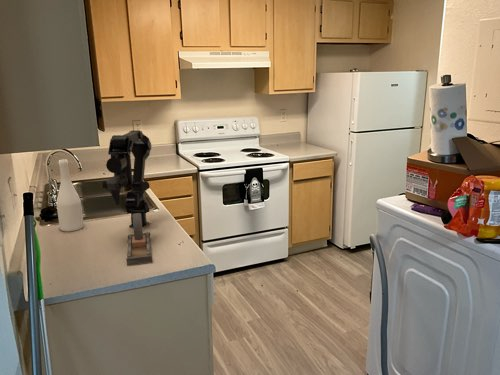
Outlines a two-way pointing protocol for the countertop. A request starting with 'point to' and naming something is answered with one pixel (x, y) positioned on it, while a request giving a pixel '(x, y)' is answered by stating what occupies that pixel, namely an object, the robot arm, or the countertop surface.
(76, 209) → the wine bottle
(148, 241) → the guide rail
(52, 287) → the countertop surface
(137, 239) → the carriage
